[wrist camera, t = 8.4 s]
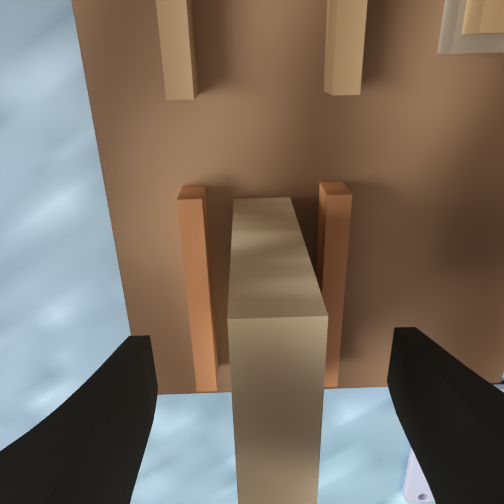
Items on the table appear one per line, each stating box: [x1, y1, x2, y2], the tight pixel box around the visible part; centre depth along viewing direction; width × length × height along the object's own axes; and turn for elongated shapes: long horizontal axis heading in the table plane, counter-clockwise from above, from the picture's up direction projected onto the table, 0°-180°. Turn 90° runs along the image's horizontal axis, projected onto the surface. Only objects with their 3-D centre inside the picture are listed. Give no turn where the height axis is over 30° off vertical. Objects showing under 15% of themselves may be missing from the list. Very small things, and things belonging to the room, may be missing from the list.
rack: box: [72, 0, 504, 395], centre depth 14 cm, size 16×22×3 cm
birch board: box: [227, 197, 328, 504], centre depth 13 cm, size 2×7×8 cm, turn 1°
